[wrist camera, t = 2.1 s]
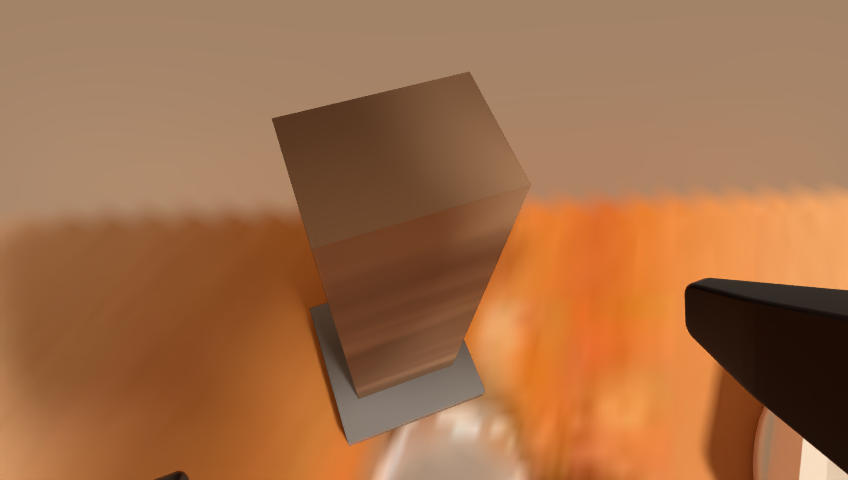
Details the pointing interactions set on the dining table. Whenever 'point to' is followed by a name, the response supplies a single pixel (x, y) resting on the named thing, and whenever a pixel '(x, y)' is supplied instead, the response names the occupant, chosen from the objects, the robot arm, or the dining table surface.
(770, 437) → the saucer
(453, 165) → the brown tall rectangular block
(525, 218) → the dining table surface
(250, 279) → the dining table surface
